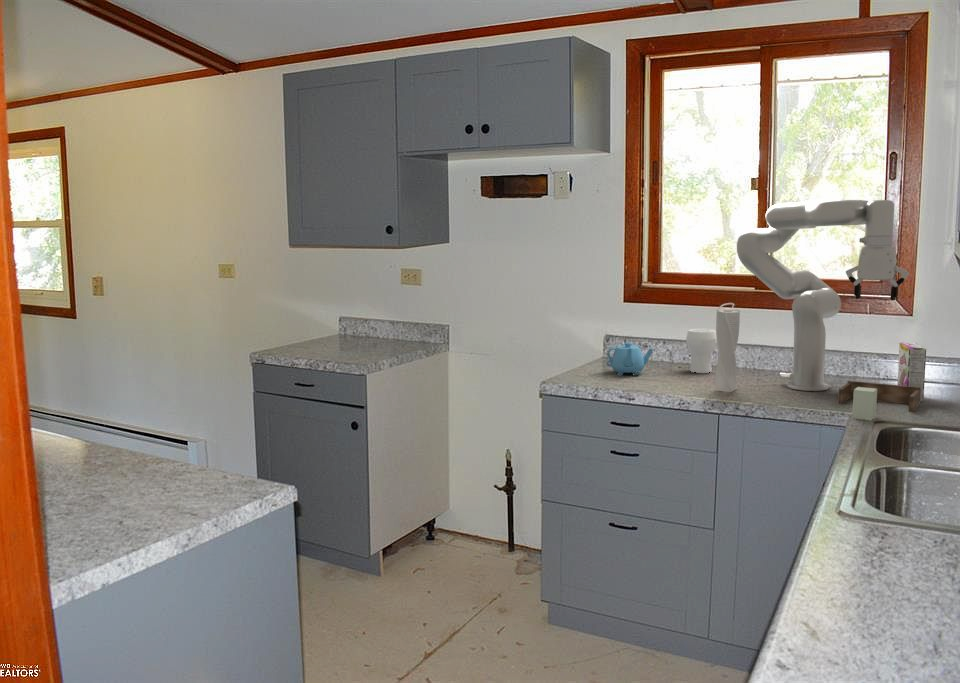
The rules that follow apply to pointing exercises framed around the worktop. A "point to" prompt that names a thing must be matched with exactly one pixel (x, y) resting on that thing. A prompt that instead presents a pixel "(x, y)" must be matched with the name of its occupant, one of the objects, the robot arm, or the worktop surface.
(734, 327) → the skyscraper
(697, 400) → the worktop surface
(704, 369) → the cup
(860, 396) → the sage block
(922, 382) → the candy bar box
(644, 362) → the teapot
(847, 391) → the walnut u-shaped bracket
